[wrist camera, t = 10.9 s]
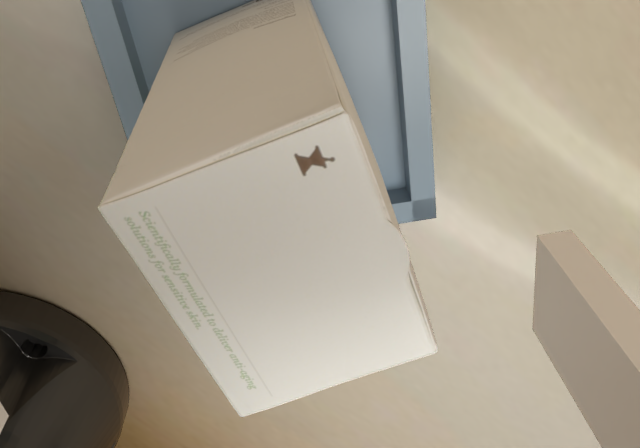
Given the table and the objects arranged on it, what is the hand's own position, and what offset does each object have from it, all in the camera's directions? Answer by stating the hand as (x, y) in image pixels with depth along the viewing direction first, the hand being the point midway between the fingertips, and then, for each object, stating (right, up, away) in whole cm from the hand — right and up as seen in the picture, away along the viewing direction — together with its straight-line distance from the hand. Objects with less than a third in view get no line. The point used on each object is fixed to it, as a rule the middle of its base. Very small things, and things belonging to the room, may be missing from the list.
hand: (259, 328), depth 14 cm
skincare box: (-1, +9, +15) cm, 17 cm away
